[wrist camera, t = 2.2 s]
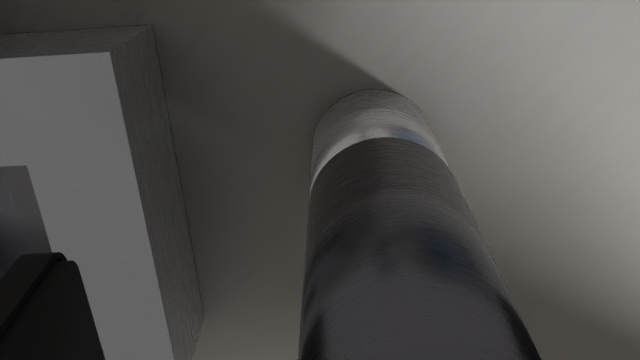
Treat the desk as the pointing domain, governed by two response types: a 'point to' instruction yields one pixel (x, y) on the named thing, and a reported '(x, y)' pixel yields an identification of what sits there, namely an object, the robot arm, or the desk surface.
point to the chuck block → (99, 182)
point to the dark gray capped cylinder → (397, 247)
